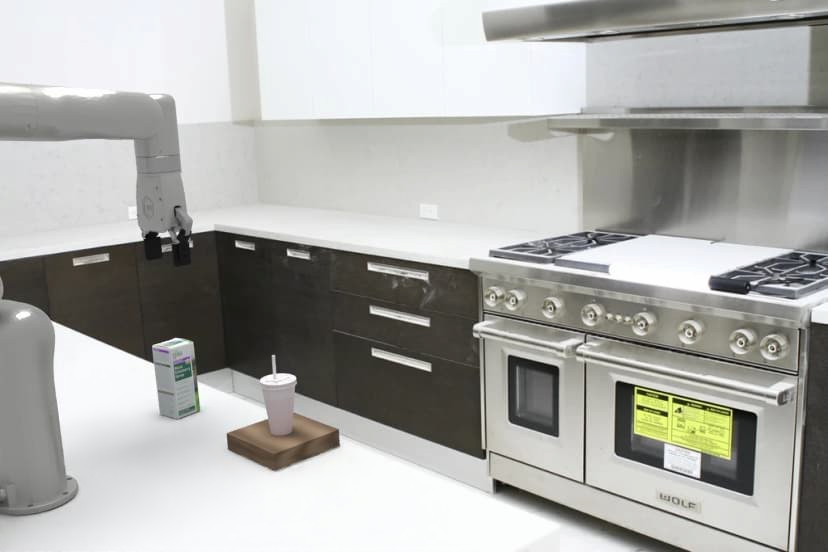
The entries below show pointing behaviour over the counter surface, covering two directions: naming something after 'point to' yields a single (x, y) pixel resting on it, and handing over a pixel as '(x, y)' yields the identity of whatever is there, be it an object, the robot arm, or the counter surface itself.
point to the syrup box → (176, 378)
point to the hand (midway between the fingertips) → (167, 262)
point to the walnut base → (283, 442)
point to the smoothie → (279, 400)
